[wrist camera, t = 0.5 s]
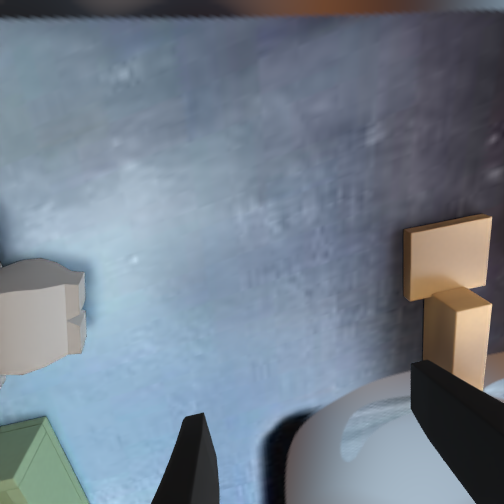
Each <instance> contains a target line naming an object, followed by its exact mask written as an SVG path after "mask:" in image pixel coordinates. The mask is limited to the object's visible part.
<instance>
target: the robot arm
mask: <svg viewBox="0 0 504 504" xmlns="http://www.w3.org/2000/svg"><path fill="white" fill-rule="evenodd" d="M411 410H412V412H413V414H414V415H415V417H416V419H417V420H418V422H419V424H420V426H421V428H422V429H423V431H424V432H425V434H426V436H427V437H428V439H429V440H430V442H431V443H432V445H433V446H434V447H435V449H436V450H437V451H438V453H439V454H440V456H441V457H442V458H443V460H444V461H445V462H446V464H447V465H448V466H449V468H450V469H451V470H452V472H453V473H454V474H455V476H456V477H457V478H458V480H459V481H460V482H461V484H462V485H463V487H464V488H465V489H466V491H467V492H468V493H469V495H470V496H471V497H472V499H473V500H474V501H475V503H476V504H504V403H502V402H501V401H499V400H497V399H495V398H493V397H491V396H490V395H488V394H486V393H484V392H483V391H481V390H479V389H477V388H476V387H474V386H472V385H470V384H469V383H467V382H465V381H464V380H462V379H460V378H458V377H457V376H455V375H453V374H452V373H450V372H448V371H447V370H445V369H443V368H442V367H440V366H438V365H436V364H435V363H433V362H431V361H429V360H428V359H427V360H423V361H419V362H415V363H411ZM151 504H219V479H218V468H217V457H216V453H215V450H214V446H213V443H212V439H211V436H210V432H209V429H208V426H207V422H206V419H205V415H204V413H200V414H196V415H191V416H187V417H185V418H184V420H183V422H182V425H181V429H180V432H179V435H178V438H177V441H176V444H175V447H174V449H173V452H172V455H171V458H170V460H169V463H168V465H167V468H166V470H165V473H164V475H163V478H162V480H161V483H160V485H159V487H158V489H157V492H156V494H155V496H154V498H153V500H152V503H151Z"/></svg>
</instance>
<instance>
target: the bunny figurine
mask: <svg viewBox="0 0 504 504" xmlns="http://www.w3.org/2000/svg"><path fill="white" fill-rule="evenodd" d="M84 302H85V272H76V271H70V270H69V269H67V268H65V267H63V266H62V265H60V264H58V263H56V262H53V261H49V260H46V259H42V258H37V259H28V260H22V261H19V262H16V263H14V264H11V265H8V266H5V267H3V268H2V266H1V262H0V389H1V387H2V386H3V384H4V382H5V380H6V375H24V374H27V373H29V372H32V371H35V370H38V369H41V368H44V367H46V366H48V365H50V364H52V363H53V362H55V361H57V360H59V359H61V358H63V357H65V356H66V355H68V354H81V353H82V349H83V346H84V343H85V340H86V337H87V334H86V311H85V310H82V307H83V305H84Z"/></svg>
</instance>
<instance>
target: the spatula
mask: <svg viewBox="0 0 504 504" xmlns="http://www.w3.org/2000/svg"><path fill="white" fill-rule="evenodd" d="M491 223H492V217H491V216H488V215H485V214H478V215H473V216H468V217H463V218H458V219H453V220H448V221H443V222H439V223H434V224H429V225H424V226H419V227H414V228H409V229H404V297H406V298H407V299H408V300H409V301H415V300H419V299H424V332H423V360H427V359H428V360H429V361H431V362H433V363H435V364H436V365H438V366H440V367H442V368H443V369H445V370H447V371H448V372H450V373H452V374H453V375H455V376H457V377H458V378H460V379H462V380H464V381H465V382H467V383H469V384H470V385H472V386H474V387H476V388H477V389H479V390H481V391H483V384H484V374H485V365H486V356H487V347H488V337H489V328H490V319H491V309H492V304H491V303H490V302H488V301H487V300H485V299H483V298H482V297H480V296H478V295H477V294H475V293H474V292H472V291H470V290H469V289H470V288H475V287H479V286H484V285H486V275H487V264H488V254H489V244H490V234H491Z"/></svg>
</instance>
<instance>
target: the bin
mask: <svg viewBox="0 0 504 504" xmlns="http://www.w3.org/2000/svg"><path fill="white" fill-rule="evenodd" d="M0 504H89V502H88V500H87V498H86V496H85V494H84V492H83V490H82V488H81V486H80V484H79V482H78V480H77V478H76V475H75V473H74V471H73V469H72V467H71V465H70V463H69V461H68V459H67V457H66V455H65V453H64V451H63V449H62V447H61V445H60V443H59V441H58V439H57V437H56V435H55V433H54V431H53V429H52V427H51V425H50V423H49V421H48V419H47V417H41V418H37V419H32V420H28V421H23V422H19V423H14V424H10V425H5V426H1V427H0Z"/></svg>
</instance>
